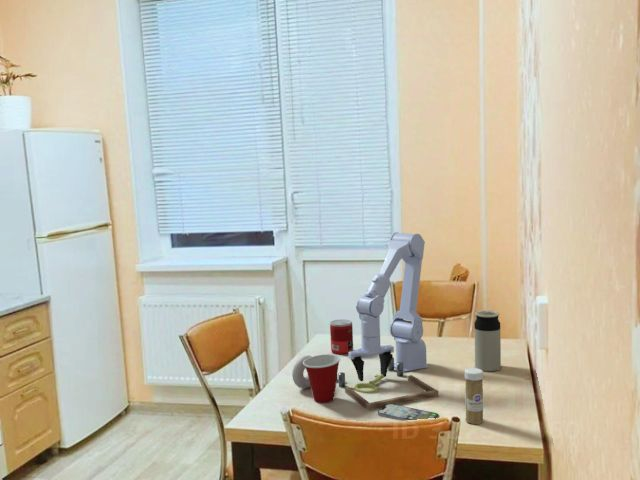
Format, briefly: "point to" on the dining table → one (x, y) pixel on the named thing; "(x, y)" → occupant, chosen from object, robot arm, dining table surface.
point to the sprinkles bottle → (474, 395)
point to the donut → (300, 373)
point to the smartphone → (404, 413)
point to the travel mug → (487, 341)
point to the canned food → (341, 336)
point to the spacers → (390, 368)
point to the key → (369, 385)
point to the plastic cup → (322, 376)
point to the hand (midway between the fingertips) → (372, 378)
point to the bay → (399, 400)
